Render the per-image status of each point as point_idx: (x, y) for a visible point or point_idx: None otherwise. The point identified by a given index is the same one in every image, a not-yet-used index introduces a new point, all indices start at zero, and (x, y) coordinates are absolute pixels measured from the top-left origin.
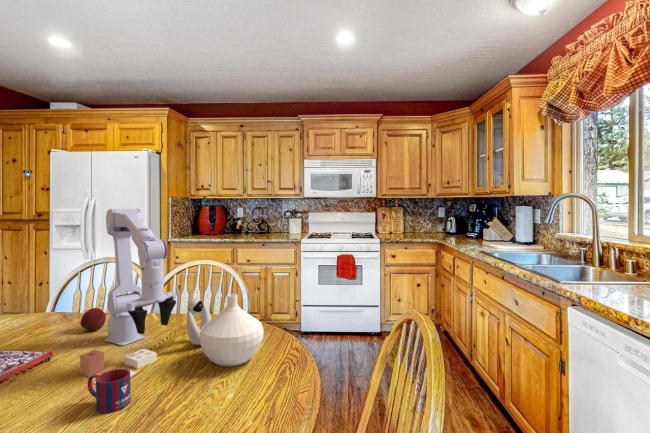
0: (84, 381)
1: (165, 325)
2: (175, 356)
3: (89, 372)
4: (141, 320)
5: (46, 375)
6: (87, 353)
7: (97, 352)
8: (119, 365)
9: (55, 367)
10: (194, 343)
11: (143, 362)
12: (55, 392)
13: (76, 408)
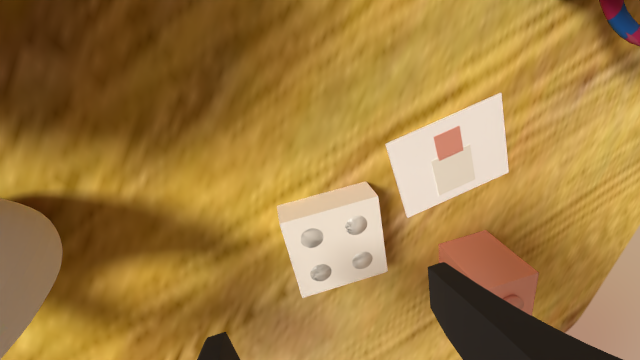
0: (510, 205)
1: (226, 336)
2: (194, 184)
3: (493, 238)
4: (589, 349)
5: None
6: None
7: None
8: (392, 248)
9: None
10: (50, 221)
11: (344, 195)
12: (580, 189)
13: None
